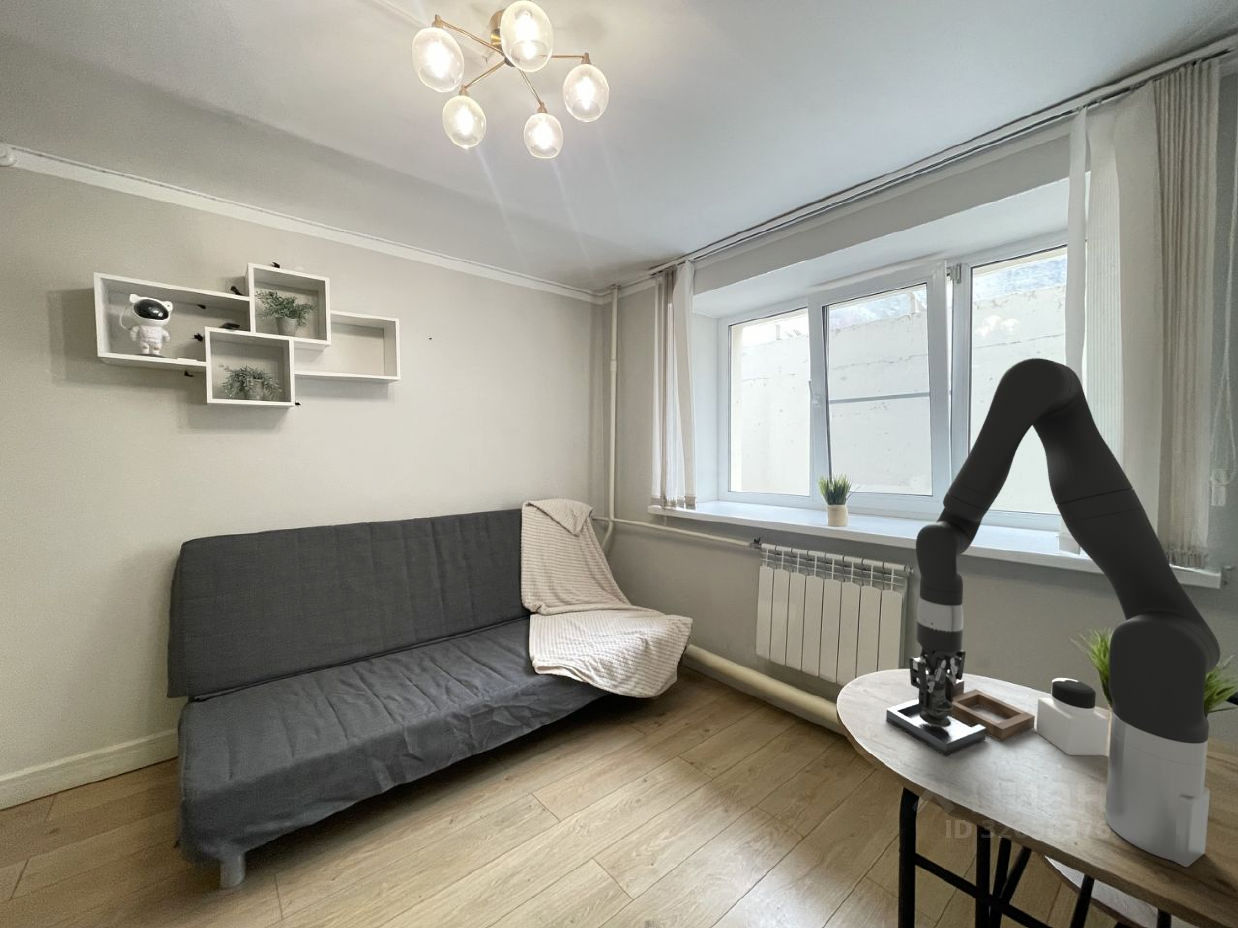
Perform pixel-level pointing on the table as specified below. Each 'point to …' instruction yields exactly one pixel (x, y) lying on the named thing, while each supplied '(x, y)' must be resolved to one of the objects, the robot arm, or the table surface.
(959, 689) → the housing
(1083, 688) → the medicine bottle
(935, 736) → the tray
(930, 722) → the dark grey chess piece
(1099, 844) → the table surface
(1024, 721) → the socket collar
